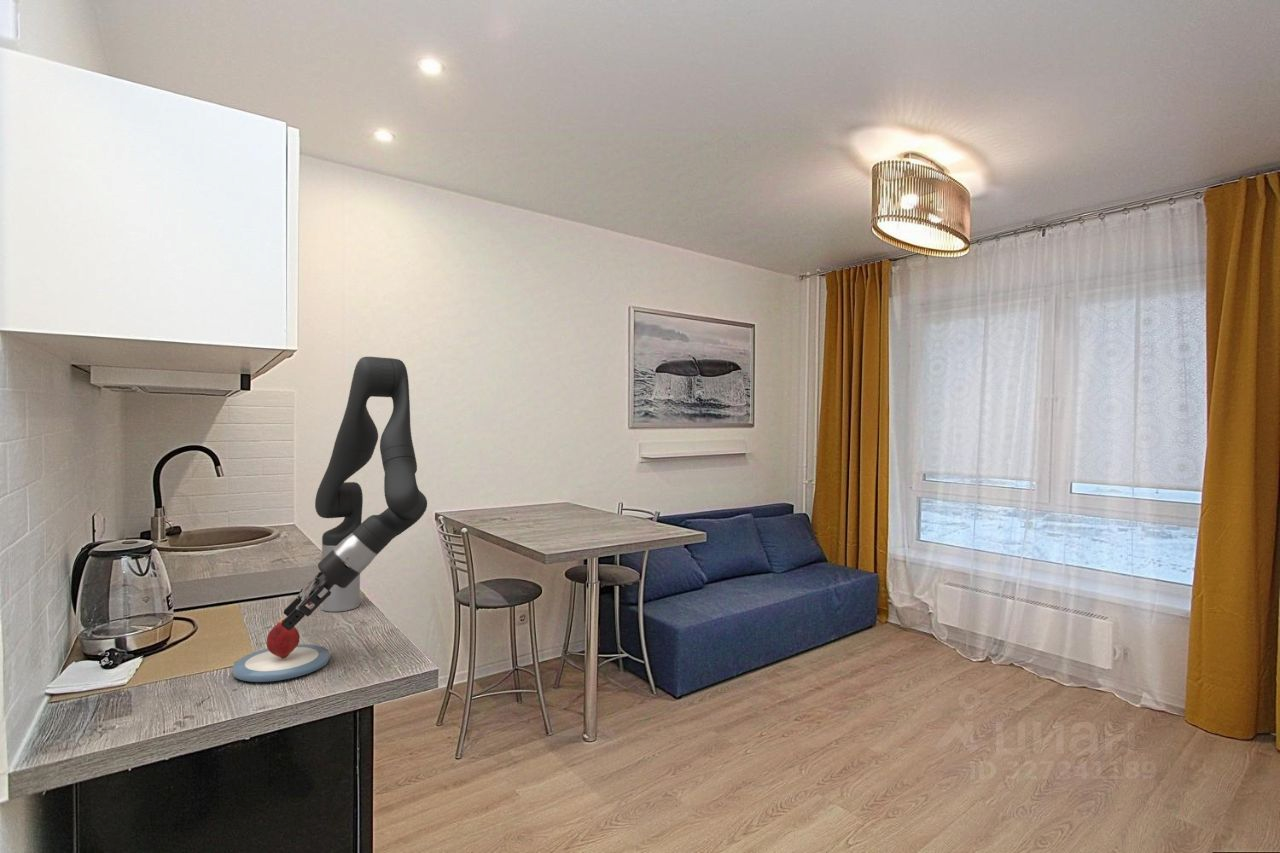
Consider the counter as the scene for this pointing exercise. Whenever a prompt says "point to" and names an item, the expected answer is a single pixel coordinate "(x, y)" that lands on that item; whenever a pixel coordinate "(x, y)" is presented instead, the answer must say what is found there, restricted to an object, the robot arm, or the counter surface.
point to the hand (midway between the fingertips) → (285, 621)
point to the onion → (282, 640)
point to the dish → (280, 664)
